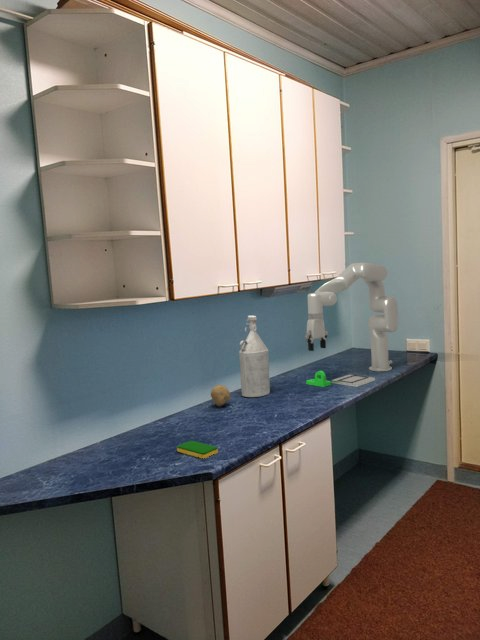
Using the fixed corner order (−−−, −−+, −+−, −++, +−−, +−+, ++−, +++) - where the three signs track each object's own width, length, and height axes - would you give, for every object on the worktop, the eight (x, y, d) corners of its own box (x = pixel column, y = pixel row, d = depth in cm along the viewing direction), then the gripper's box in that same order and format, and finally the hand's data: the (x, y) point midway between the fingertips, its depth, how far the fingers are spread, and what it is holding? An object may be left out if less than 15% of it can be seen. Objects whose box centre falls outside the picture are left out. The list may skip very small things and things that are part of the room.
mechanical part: (331, 385, 264) (330, 369, 263) (323, 387, 260) (322, 372, 260) (314, 382, 274) (313, 367, 273) (306, 384, 270) (305, 369, 269)
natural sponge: (224, 402, 244) (223, 381, 243) (234, 405, 236) (233, 384, 236) (208, 406, 239) (206, 385, 238) (218, 409, 232) (216, 388, 231)
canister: (234, 396, 253) (229, 317, 249) (257, 389, 266) (252, 313, 262) (254, 400, 244) (248, 318, 240) (276, 391, 257) (271, 314, 253)
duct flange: (349, 377, 278) (349, 373, 278) (375, 380, 266) (374, 377, 266) (331, 382, 268) (331, 379, 268) (356, 386, 256) (356, 383, 256)
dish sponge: (191, 446, 186) (191, 440, 186) (218, 453, 177) (218, 446, 177) (176, 452, 181) (176, 445, 181) (203, 460, 172) (203, 453, 171)
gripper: (320, 315, 272) (322, 346, 274) (299, 318, 261) (300, 351, 263) (331, 315, 267) (333, 347, 268) (310, 318, 255) (311, 352, 257)
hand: (317, 349), depth 266 cm, fingers open, 9 cm apart
